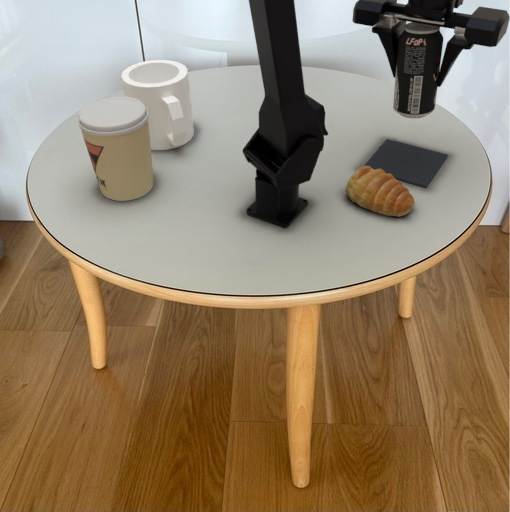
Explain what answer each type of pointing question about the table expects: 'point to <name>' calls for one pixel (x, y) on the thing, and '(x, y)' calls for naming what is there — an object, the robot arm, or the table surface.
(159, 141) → the mug
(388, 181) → the pastry
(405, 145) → the coaster
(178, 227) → the table surface
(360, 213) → the table surface
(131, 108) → the coffee cup
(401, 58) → the beverage can
